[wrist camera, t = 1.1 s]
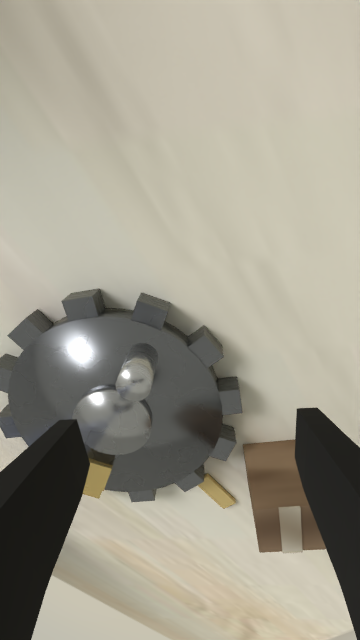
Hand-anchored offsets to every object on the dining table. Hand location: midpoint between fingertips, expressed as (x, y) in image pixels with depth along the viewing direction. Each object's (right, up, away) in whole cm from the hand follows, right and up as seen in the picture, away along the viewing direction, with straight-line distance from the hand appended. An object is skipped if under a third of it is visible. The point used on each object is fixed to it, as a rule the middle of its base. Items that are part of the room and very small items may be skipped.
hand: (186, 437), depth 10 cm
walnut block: (+7, -7, +13) cm, 16 cm away
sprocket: (-4, -2, +11) cm, 12 cm away
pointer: (+3, -10, +14) cm, 17 cm away
